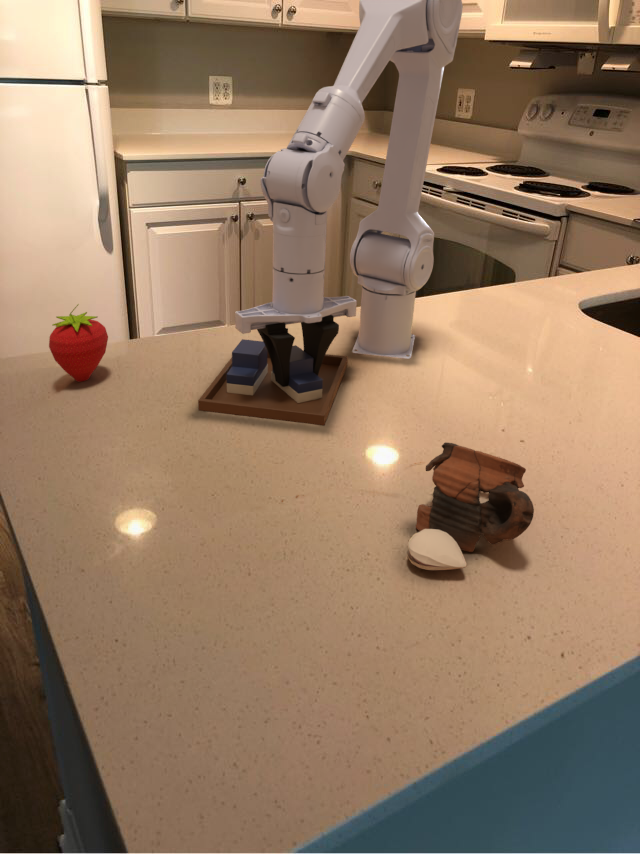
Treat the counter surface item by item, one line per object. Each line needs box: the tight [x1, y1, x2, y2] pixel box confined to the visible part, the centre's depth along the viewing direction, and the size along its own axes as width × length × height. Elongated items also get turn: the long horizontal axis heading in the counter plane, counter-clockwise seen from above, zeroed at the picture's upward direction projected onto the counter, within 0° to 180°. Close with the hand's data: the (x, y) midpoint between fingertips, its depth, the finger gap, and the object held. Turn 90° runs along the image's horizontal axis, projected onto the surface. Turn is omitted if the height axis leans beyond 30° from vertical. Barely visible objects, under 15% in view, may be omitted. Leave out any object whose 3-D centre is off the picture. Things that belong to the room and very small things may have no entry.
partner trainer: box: [227, 338, 268, 396], centre depth 85 cm, size 7×3×4 cm, turn 170°
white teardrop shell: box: [406, 529, 467, 571], centre depth 57 cm, size 4×5×2 cm
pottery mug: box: [415, 441, 535, 553], centre depth 61 cm, size 12×10×8 cm
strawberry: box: [48, 303, 109, 382], centre depth 83 cm, size 6×8×10 cm
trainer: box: [271, 345, 323, 403], centre depth 83 cm, size 7×3×4 cm, turn 30°
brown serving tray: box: [197, 351, 349, 426], centre depth 85 cm, size 17×14×2 cm
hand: (295, 380), depth 84 cm, fingers closed on trainer, 3 cm apart
